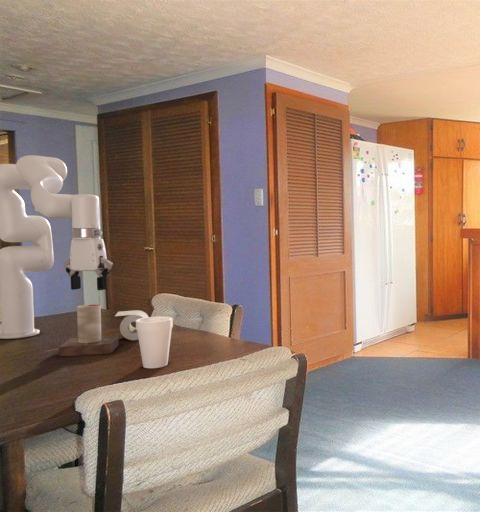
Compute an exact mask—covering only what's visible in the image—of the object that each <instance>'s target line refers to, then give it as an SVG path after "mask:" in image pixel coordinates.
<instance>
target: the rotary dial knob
mask: <svg viewBox="0 0 480 512" xmlns="http://www.w3.org/2000/svg"><path fill="white" fill-rule="evenodd" d="M101 309H102V307H101V304H92V303H91V304H81V305H78V306H76V316H77V320H76V321H77V338H78V342H79V343H93V342H98V341H101V340H102V339H101V337H102V312H101V311H102V310H101Z"/></svg>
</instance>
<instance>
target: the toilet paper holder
mask: <svg viewBox="0 0 480 512" xmlns="http://www.w3.org/2000/svg"><path fill="white" fill-rule="evenodd" d="M121 316H122V317H123V316H124V317H123V319H122V320H121V322H120V323H119V332H120V334H121V336H122V337H123V338H124V339H127V340H128V341H139V339H138V333H137V330H136V327H134V326H133V325H132V323H136V320H138V319H141V318H147V317H150V316H149V315H148V314H147V313H146V312H145V311H143V310H138V309H136V310H122V311H117V313H116V314H115V315H114V317H121Z"/></svg>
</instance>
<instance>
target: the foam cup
mask: <svg viewBox="0 0 480 512" xmlns="http://www.w3.org/2000/svg"><path fill="white" fill-rule="evenodd" d="M173 323H174V319H173V317H170V316H149V317H147V318H141V319H138V320H136V322H135V328H136V330H137V333H138V345H139V350H140V356H141V357H140V358H141V362H142V367H143V368H145V369H158V368H163V367H166V366H168V362H169V355H170V347H171V338H172V329H173V326H174V324H173Z"/></svg>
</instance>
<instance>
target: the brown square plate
mask: <svg viewBox="0 0 480 512" xmlns="http://www.w3.org/2000/svg"><path fill="white" fill-rule="evenodd" d="M101 339H102V340H101V341H98V342H93V343H79V342H78V337H70V338H69V339H67V340H66V341H64V342H63V343H62V344H60V345H59V346H58V357H75V356H91V355H108V354H112V353H113V351H115V349H116V348H117V347H118V346H119V344H120V343H119V342H120V339H119V335H110V336H101Z"/></svg>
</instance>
